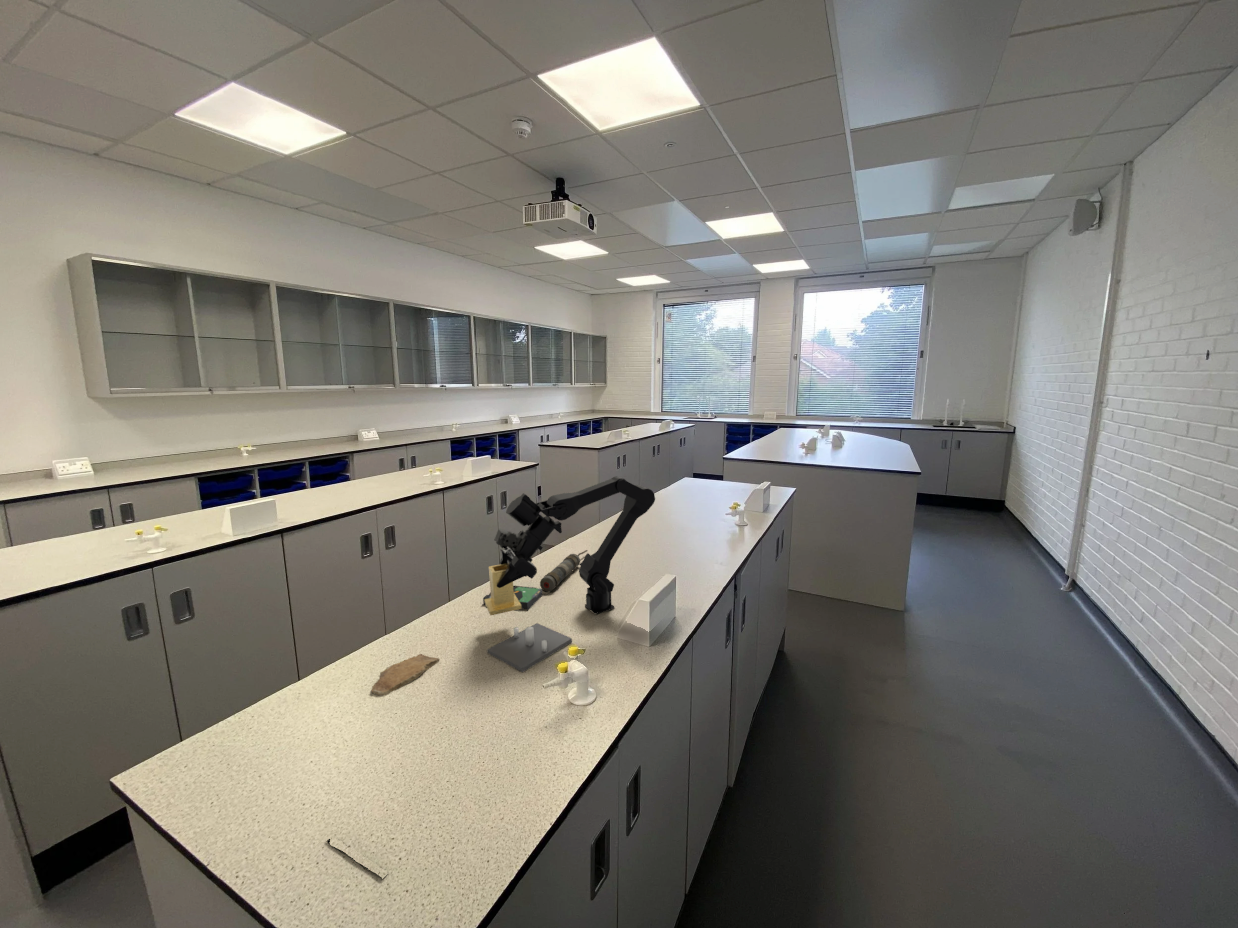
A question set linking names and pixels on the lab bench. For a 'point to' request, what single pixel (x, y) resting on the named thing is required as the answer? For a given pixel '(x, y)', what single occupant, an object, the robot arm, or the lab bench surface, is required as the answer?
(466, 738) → the lab bench surface
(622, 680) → the lab bench surface
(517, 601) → the brass sleeve
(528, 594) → the disk drive
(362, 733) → the lab bench surface
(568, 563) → the bomb
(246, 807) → the lab bench surface
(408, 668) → the pottery shard
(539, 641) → the base plate
